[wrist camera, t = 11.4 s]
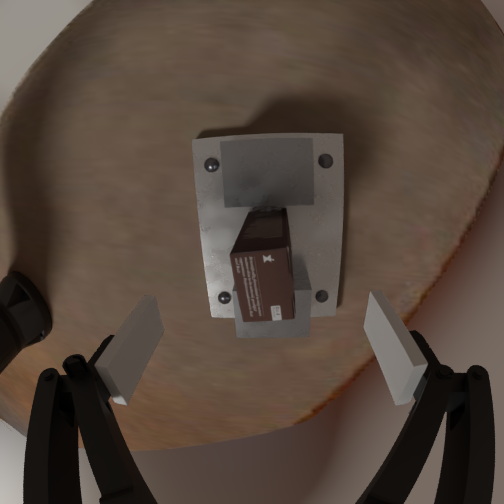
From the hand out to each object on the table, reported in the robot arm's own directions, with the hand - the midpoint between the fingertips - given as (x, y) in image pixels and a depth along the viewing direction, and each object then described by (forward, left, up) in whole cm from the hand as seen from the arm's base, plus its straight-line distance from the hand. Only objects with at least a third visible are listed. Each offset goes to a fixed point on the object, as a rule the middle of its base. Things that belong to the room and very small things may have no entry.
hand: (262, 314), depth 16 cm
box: (0, 0, -16) cm, 16 cm away
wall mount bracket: (0, 0, -17) cm, 17 cm away
